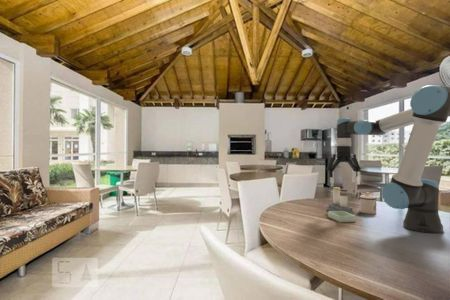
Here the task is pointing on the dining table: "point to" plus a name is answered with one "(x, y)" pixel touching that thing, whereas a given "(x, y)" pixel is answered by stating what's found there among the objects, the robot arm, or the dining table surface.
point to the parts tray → (341, 216)
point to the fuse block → (339, 208)
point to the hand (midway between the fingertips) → (343, 182)
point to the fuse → (336, 195)
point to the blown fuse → (343, 198)
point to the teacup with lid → (368, 203)
